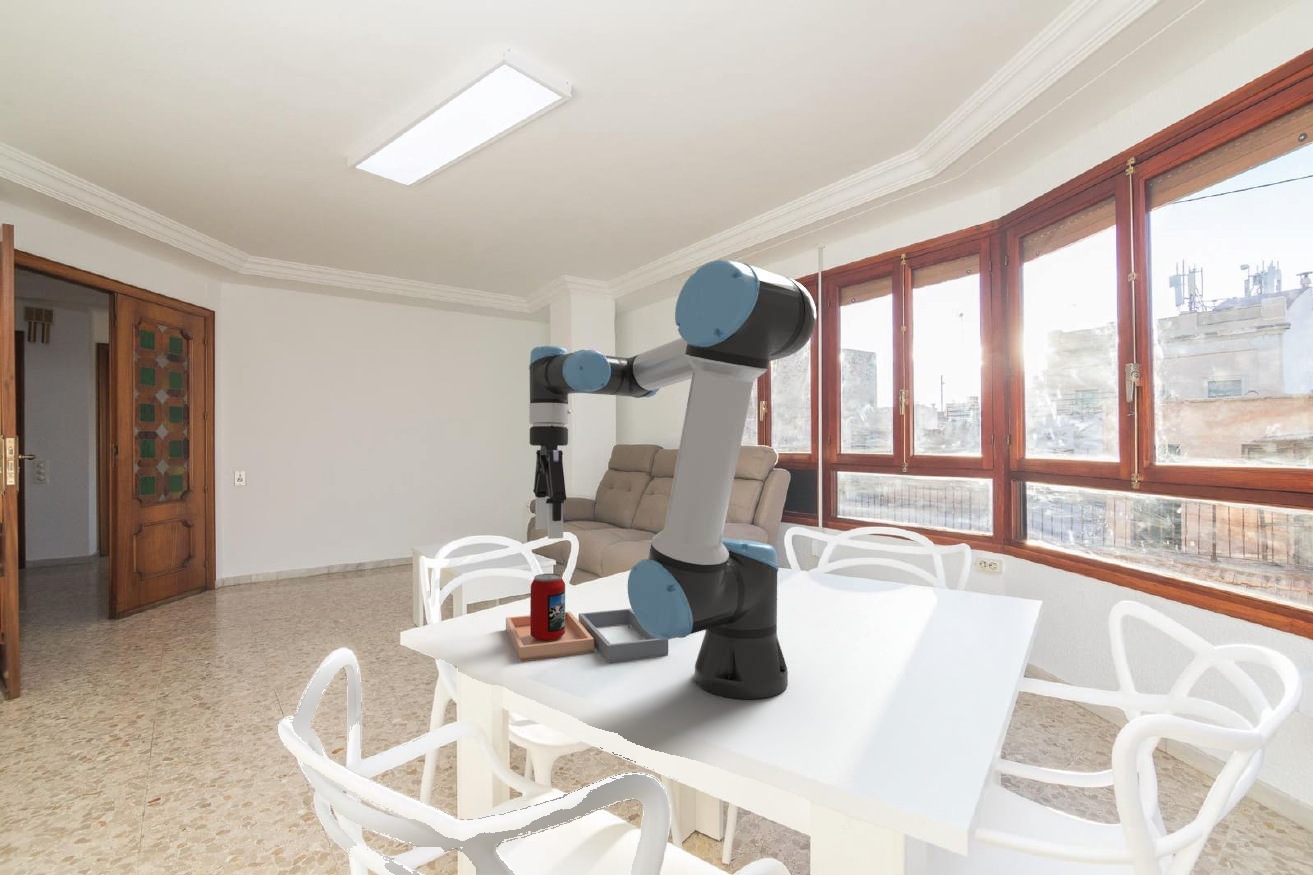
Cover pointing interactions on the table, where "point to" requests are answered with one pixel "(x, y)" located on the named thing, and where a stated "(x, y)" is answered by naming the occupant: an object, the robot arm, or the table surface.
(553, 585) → the beverage can
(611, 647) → the grey bin
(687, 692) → the table surface
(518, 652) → the terracotta dish
